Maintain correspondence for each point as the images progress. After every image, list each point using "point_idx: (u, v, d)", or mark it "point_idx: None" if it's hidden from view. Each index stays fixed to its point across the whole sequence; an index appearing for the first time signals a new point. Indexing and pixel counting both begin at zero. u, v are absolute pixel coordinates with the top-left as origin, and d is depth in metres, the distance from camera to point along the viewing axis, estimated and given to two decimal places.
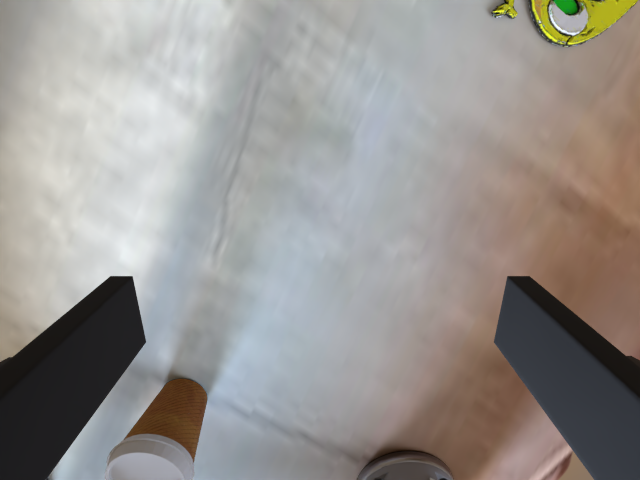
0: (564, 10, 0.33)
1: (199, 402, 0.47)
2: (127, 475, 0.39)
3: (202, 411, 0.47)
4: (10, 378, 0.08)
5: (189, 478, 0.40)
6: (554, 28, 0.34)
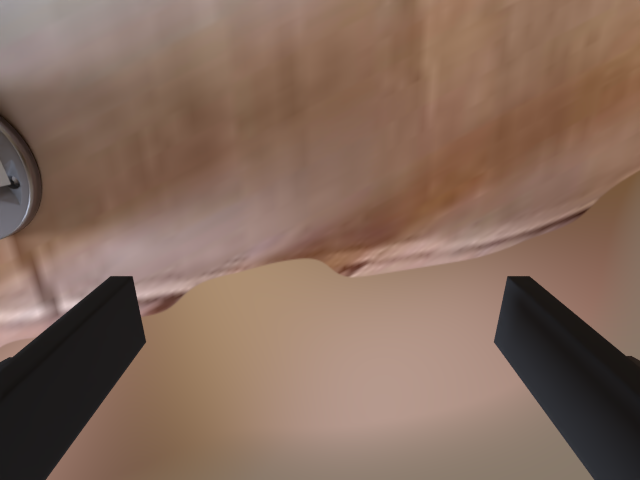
0: None
1: None
2: None
3: None
4: (10, 378, 0.08)
5: None
6: None
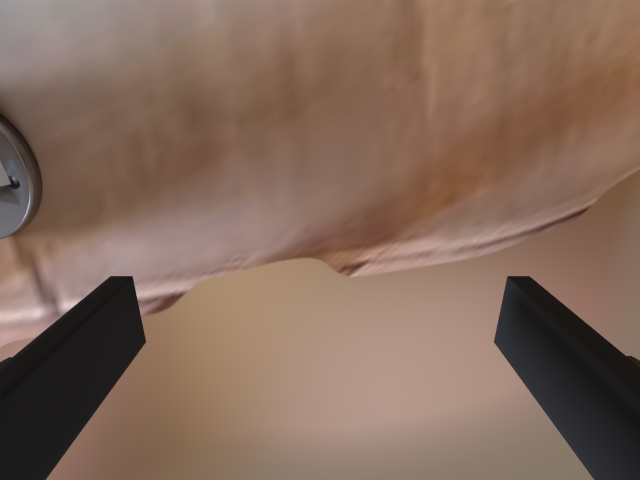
0: None
1: None
2: None
3: None
4: (10, 378, 0.08)
5: None
6: None
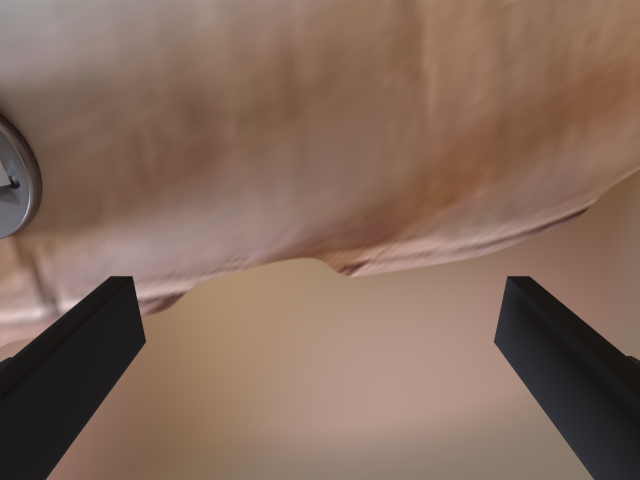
0: None
1: None
2: None
3: None
4: (10, 378, 0.08)
5: None
6: None
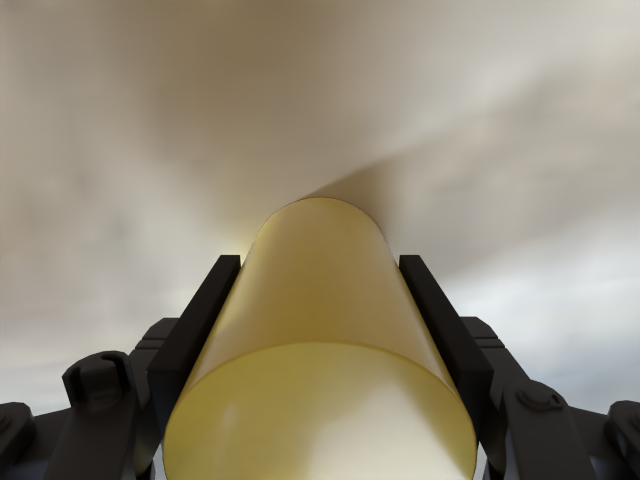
0: None
1: None
2: None
3: None
4: (192, 327, 0.09)
5: None
6: None
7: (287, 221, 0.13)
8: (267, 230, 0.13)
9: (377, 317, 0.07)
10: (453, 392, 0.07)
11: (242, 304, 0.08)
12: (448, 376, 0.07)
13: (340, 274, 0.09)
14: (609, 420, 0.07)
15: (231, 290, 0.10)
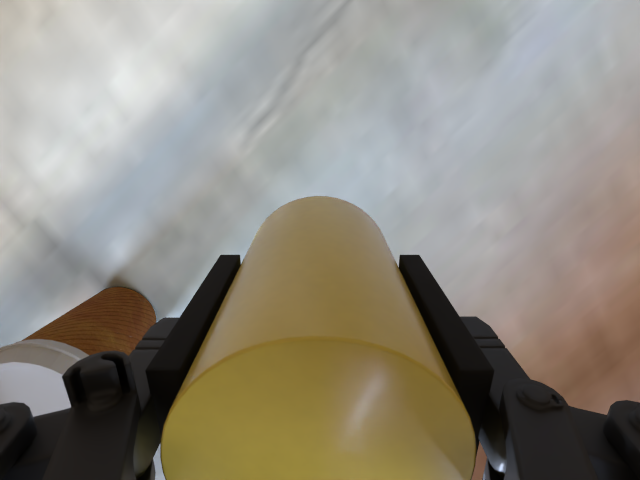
0: None
1: (145, 328, 0.33)
2: (7, 395, 0.24)
3: None
4: (192, 327, 0.09)
5: None
6: None
7: (286, 220, 0.13)
8: (266, 229, 0.13)
9: (375, 314, 0.07)
10: (452, 390, 0.07)
11: (240, 302, 0.08)
12: (447, 374, 0.07)
13: (339, 272, 0.08)
14: (609, 420, 0.07)
15: (230, 289, 0.10)
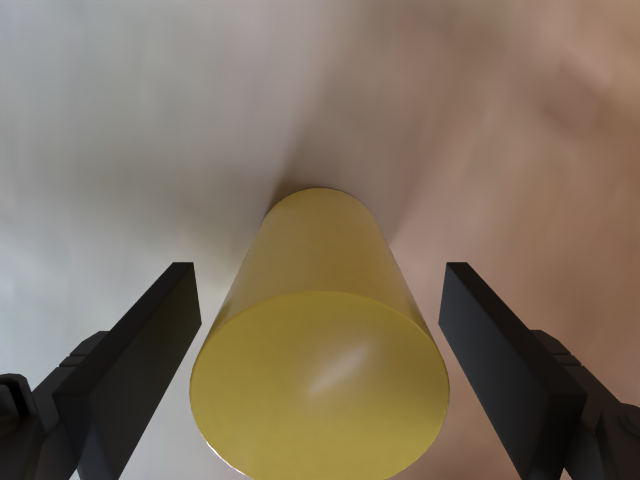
0: None
1: None
2: None
3: None
4: (118, 344, 0.09)
5: None
6: None
7: (290, 208, 0.14)
8: (272, 216, 0.15)
9: (366, 278, 0.09)
10: (428, 336, 0.08)
11: (253, 271, 0.10)
12: (425, 326, 0.09)
13: (337, 247, 0.10)
14: None
15: (242, 265, 0.12)
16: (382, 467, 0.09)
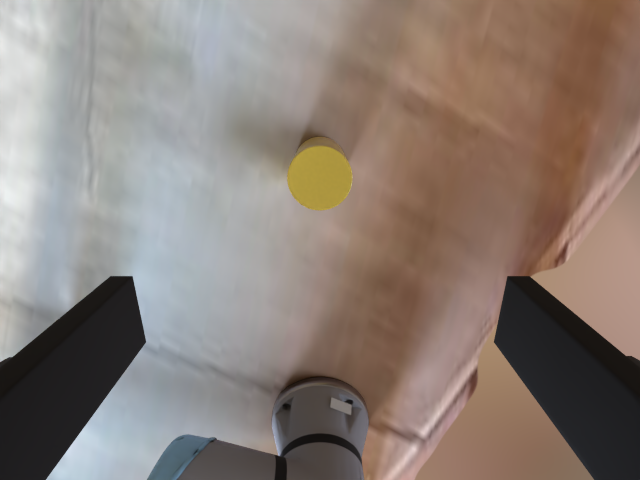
0: None
1: None
2: None
3: None
4: (10, 378, 0.08)
5: None
6: None
7: (309, 140, 0.40)
8: (302, 144, 0.41)
9: (331, 146, 0.35)
10: (345, 158, 0.34)
11: (302, 149, 0.36)
12: (346, 158, 0.35)
13: (324, 143, 0.36)
14: None
15: (295, 154, 0.38)
16: (336, 200, 0.35)
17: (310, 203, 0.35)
